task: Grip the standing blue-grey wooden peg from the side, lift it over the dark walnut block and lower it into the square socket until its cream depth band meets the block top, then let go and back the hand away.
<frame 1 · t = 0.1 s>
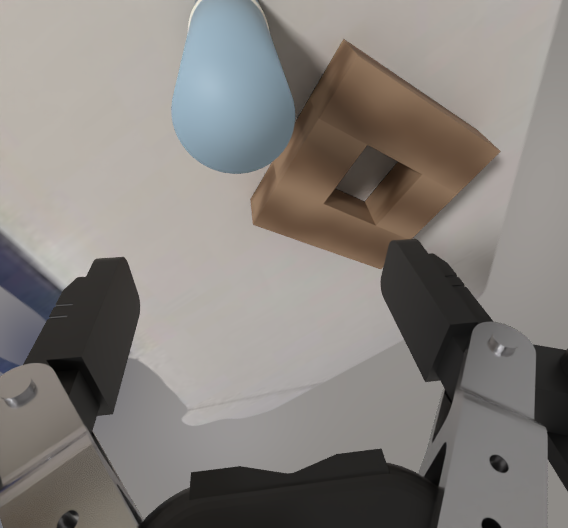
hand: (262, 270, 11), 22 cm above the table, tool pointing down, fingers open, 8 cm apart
peg: (228, 20, 25), on the table
socket block: (360, 166, 35), on the table
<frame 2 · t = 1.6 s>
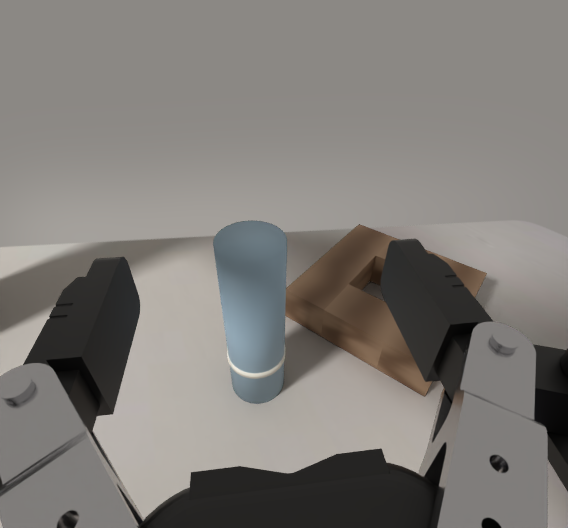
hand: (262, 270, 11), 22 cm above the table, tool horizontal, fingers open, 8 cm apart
peg: (258, 379, 34), on the table
socket block: (382, 306, 41), on the table
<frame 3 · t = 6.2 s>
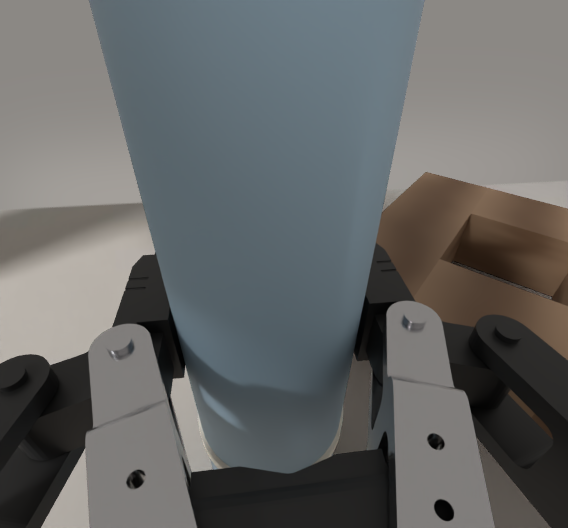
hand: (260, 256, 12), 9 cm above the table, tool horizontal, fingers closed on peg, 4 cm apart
peg: (272, 462, 15), on the table, touching gripper
socket block: (488, 303, 23), on the table
when the fingers open (10 cm above the table, at t = 11.7 s): peg drops 1 cm, resting in socket block.
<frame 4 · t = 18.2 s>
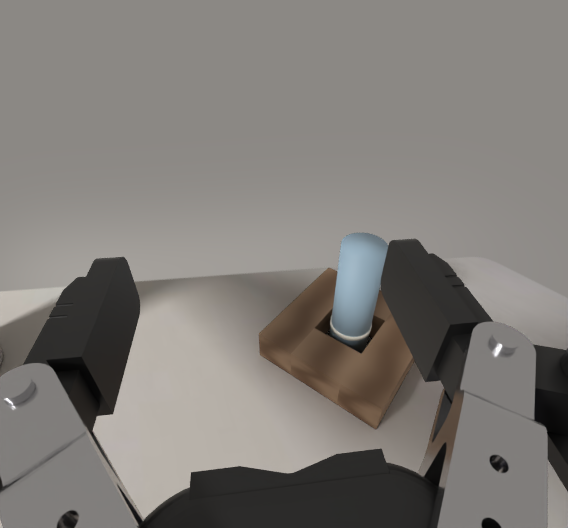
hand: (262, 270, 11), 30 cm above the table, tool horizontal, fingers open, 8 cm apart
peg: (346, 346, 47), resting in socket block
socket block: (346, 345, 47), on the table
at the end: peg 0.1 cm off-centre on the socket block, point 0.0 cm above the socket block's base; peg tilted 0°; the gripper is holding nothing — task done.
